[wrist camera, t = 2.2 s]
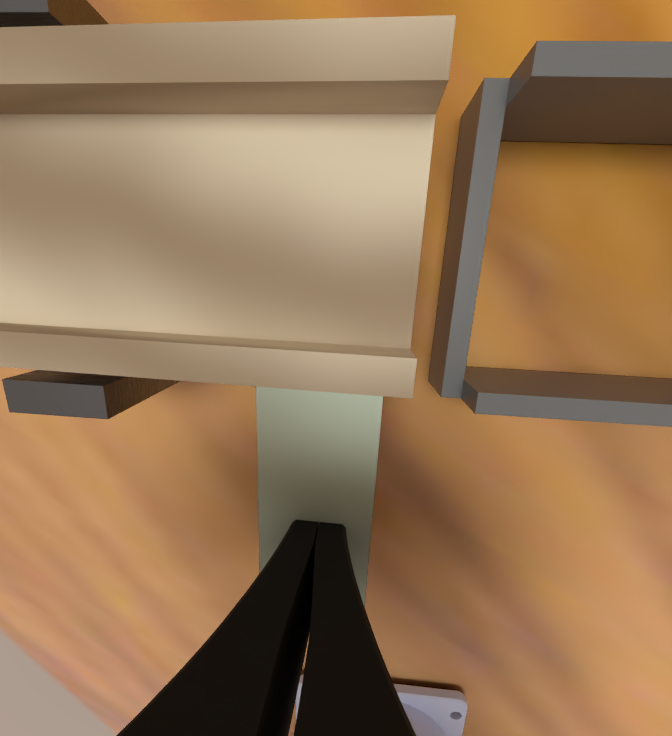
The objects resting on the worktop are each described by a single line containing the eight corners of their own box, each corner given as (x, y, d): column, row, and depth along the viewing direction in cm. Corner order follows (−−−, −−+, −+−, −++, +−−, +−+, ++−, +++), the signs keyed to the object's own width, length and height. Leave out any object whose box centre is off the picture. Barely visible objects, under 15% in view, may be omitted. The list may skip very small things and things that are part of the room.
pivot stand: (226, 380, 12) (143, 439, 7) (124, 373, 12) (-19, 427, 8) (214, 92, 10) (82, -87, 5) (89, 90, 10) (-148, -82, 5)
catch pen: (696, 397, 11) (880, 457, 7) (428, 380, 11) (464, 427, 8) (793, 122, 9) (1124, -3, 5) (461, 116, 9) (533, -3, 6)
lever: (379, 593, 10) (382, 692, 8) (-72, 535, 11) (-191, 602, 9) (431, 94, 7) (465, -17, 4) (-217, 98, 8) (-469, 16, 6)
